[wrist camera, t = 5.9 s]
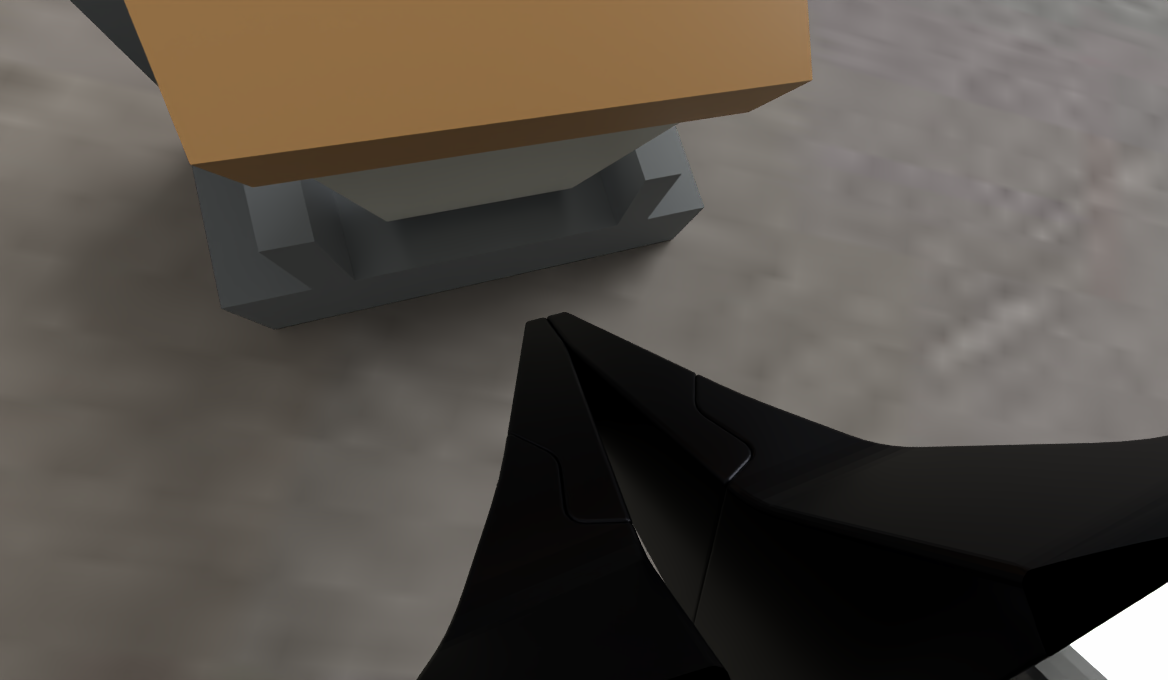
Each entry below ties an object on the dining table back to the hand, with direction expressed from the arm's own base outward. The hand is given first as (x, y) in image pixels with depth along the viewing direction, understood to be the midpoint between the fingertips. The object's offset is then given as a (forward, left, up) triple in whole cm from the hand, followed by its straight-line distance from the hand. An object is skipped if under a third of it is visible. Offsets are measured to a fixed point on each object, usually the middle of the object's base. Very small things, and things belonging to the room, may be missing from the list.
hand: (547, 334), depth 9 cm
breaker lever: (+6, -3, -5) cm, 8 cm away
